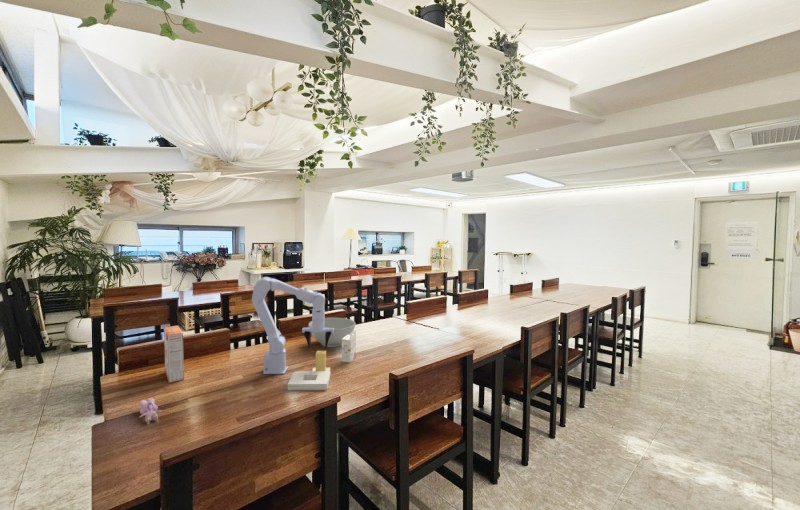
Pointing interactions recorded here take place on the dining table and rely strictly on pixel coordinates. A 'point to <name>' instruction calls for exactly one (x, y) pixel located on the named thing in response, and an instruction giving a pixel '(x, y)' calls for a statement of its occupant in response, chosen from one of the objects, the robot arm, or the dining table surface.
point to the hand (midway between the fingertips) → (317, 347)
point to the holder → (309, 380)
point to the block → (321, 361)
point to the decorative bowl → (335, 331)
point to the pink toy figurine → (149, 410)
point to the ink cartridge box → (349, 347)
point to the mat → (326, 369)
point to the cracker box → (173, 353)
